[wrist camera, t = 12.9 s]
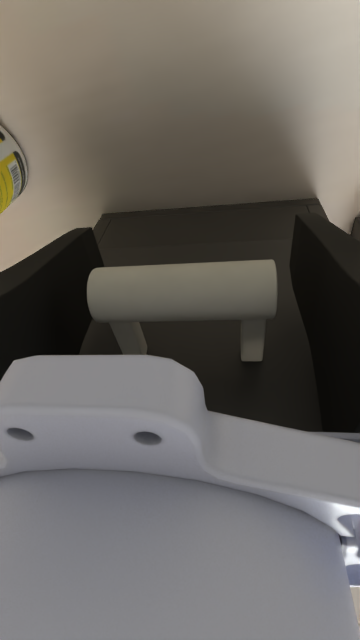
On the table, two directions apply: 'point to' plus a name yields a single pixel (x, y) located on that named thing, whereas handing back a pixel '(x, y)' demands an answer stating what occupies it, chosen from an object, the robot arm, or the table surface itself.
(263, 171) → the table surface
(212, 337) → the lid
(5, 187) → the supplement bottle
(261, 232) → the dark grey lipped box
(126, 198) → the table surface
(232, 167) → the table surface
